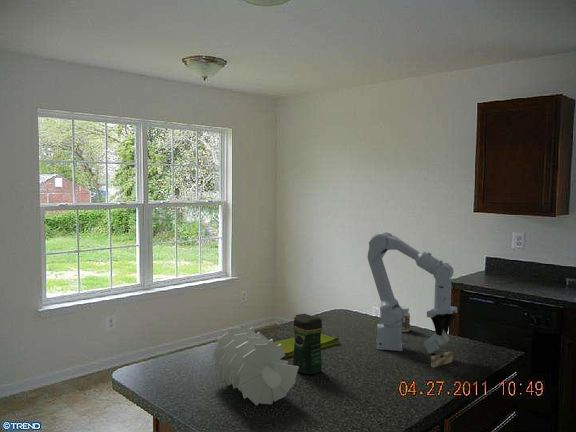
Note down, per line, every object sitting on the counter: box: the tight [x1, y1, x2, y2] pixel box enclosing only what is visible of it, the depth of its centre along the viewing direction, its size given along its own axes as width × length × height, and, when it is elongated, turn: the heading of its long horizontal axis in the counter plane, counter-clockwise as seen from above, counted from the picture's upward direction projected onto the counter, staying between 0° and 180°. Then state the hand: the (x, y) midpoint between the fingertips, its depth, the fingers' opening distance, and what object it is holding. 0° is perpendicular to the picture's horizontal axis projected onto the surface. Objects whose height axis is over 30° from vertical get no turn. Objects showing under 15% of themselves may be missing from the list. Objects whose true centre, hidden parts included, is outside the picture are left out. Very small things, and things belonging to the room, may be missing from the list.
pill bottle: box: [400, 305, 411, 333], centre depth 207 cm, size 6×6×10 cm
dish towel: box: [273, 333, 340, 360], centre depth 183 cm, size 15×36×3 cm, turn 127°
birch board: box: [430, 351, 454, 368], centre depth 168 cm, size 10×1×4 cm, turn 124°
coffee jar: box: [292, 313, 323, 375], centre depth 160 cm, size 10×8×19 cm
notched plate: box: [422, 329, 451, 354], centre depth 176 cm, size 10×2×4 cm
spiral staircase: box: [212, 324, 299, 407], centre depth 142 cm, size 18×18×25 cm
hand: (441, 334), depth 174 cm, fingers closed on notched plate, 2 cm apart
